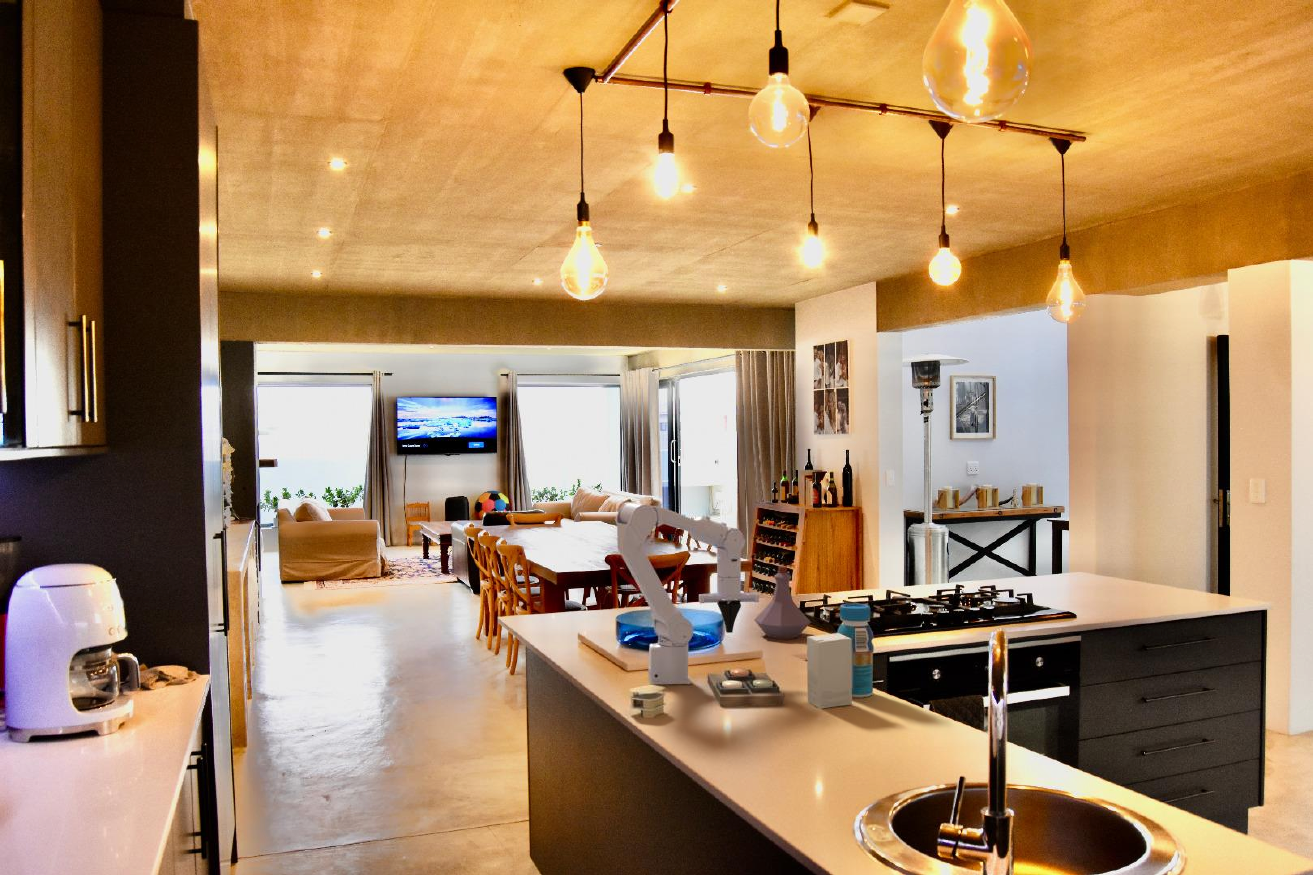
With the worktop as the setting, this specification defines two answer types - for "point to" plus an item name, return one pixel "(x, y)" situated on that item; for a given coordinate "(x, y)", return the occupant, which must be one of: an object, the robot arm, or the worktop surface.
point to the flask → (782, 611)
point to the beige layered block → (648, 700)
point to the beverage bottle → (859, 646)
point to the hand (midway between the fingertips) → (729, 631)
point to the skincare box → (829, 670)
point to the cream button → (731, 684)
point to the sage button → (762, 683)
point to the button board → (745, 690)
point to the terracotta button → (739, 672)
